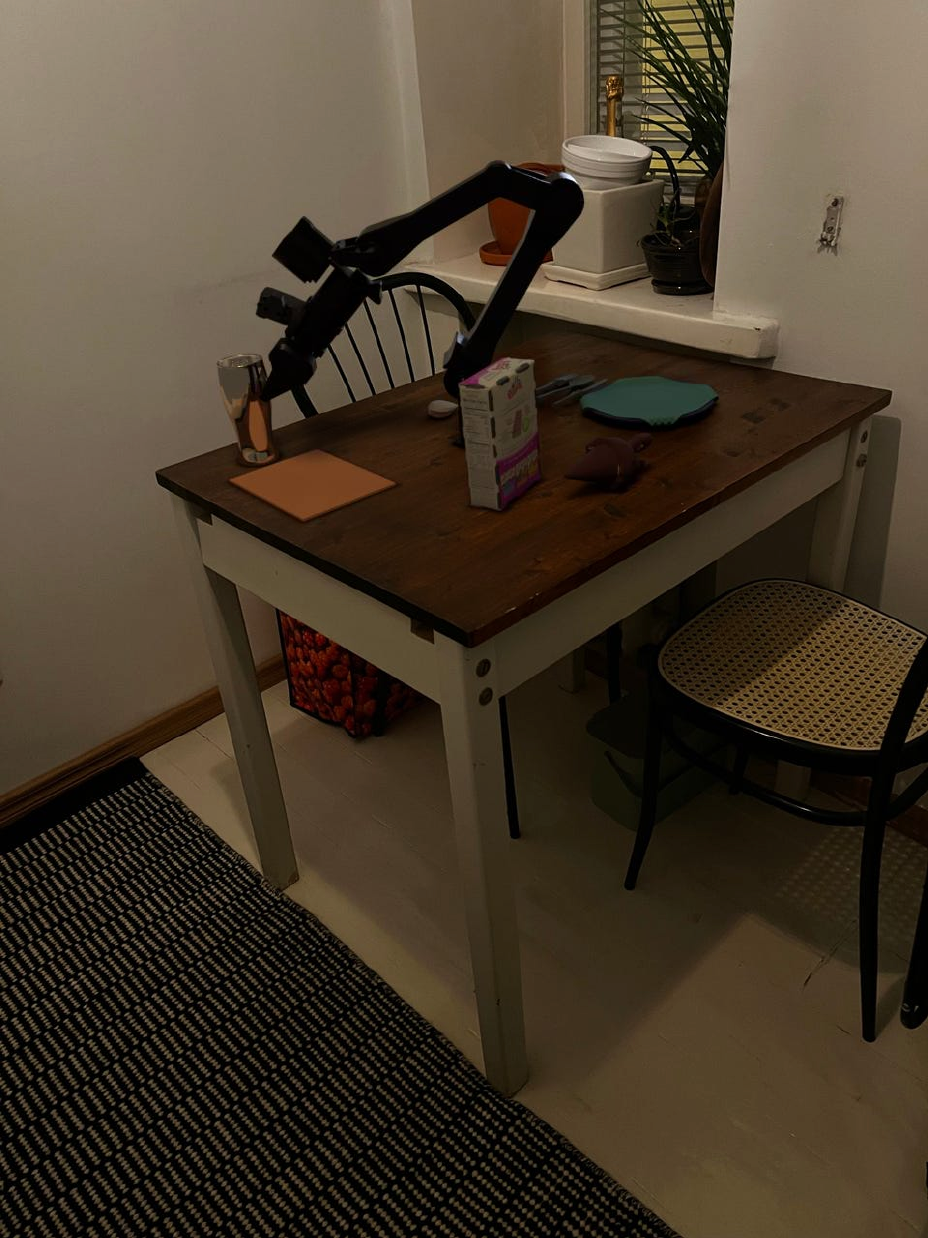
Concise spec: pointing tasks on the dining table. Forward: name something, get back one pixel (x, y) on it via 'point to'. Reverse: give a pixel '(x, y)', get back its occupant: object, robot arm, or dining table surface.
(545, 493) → the dining table surface
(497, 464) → the candy bar box
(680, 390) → the cutlery set
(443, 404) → the grey rounded piece
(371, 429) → the dining table surface
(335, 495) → the cloth
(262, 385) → the beer glass
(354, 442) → the dining table surface
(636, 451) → the icecream
